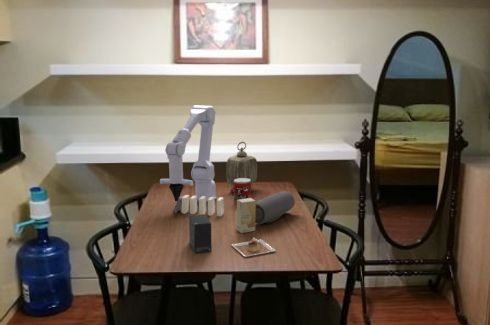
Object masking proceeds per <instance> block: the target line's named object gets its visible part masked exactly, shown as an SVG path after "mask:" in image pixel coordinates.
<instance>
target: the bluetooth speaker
mask: <svg viewBox="0 0 490 325" xmlns="http://www.w3.org/2000/svg"><path fill="white" fill-rule="evenodd" d="M295 202H296V201H295V198H294V195H293V194H292V193H291V192H290V191H286V190H282V191H279V192H276V193H273V194H271V195H269V196H266V197H264V198H262V199H260V200H257V201H256V210H255V225H261V224H264V223H265V224H270V223H273V222H275V221H277V220H279V219H280V218H281V217H282V215H284V214H286V213H287V212H289V211H291V209H293V208H294V207H295V204H296V203H295Z"/></svg>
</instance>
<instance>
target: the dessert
mask: <svg viewBox="0 0 490 325" xmlns="http://www.w3.org/2000/svg"><path fill="white" fill-rule="evenodd" d="M259 243H260V244H261V245H262V246H263V247H265V248H266V249H268V250H269V251H265V252H260V253H254V254H249V255H245V254H244V253H243V252H242V250H240V249H239V248H237V247H241V246H245V245H246V246H247V247H246V251H248V252H258V251H260V245H259ZM230 246H232V247H233V248H234V249H235V250H236V251H237V252H239V253H240V254H241V255H242V256H243V257H244V258H249V257H252V256H259V255H263V254H270V253H274V252H276V251H277V250H276V249H275V248H274V247H272V246H271V245H270V244H268V243H267V242H266V241H265V240H263V239H262V238H260V239H257V238H255V237H252V239H250V240H248V241H243V242H238V243H232V244H230ZM235 246H236V247H235Z"/></svg>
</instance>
